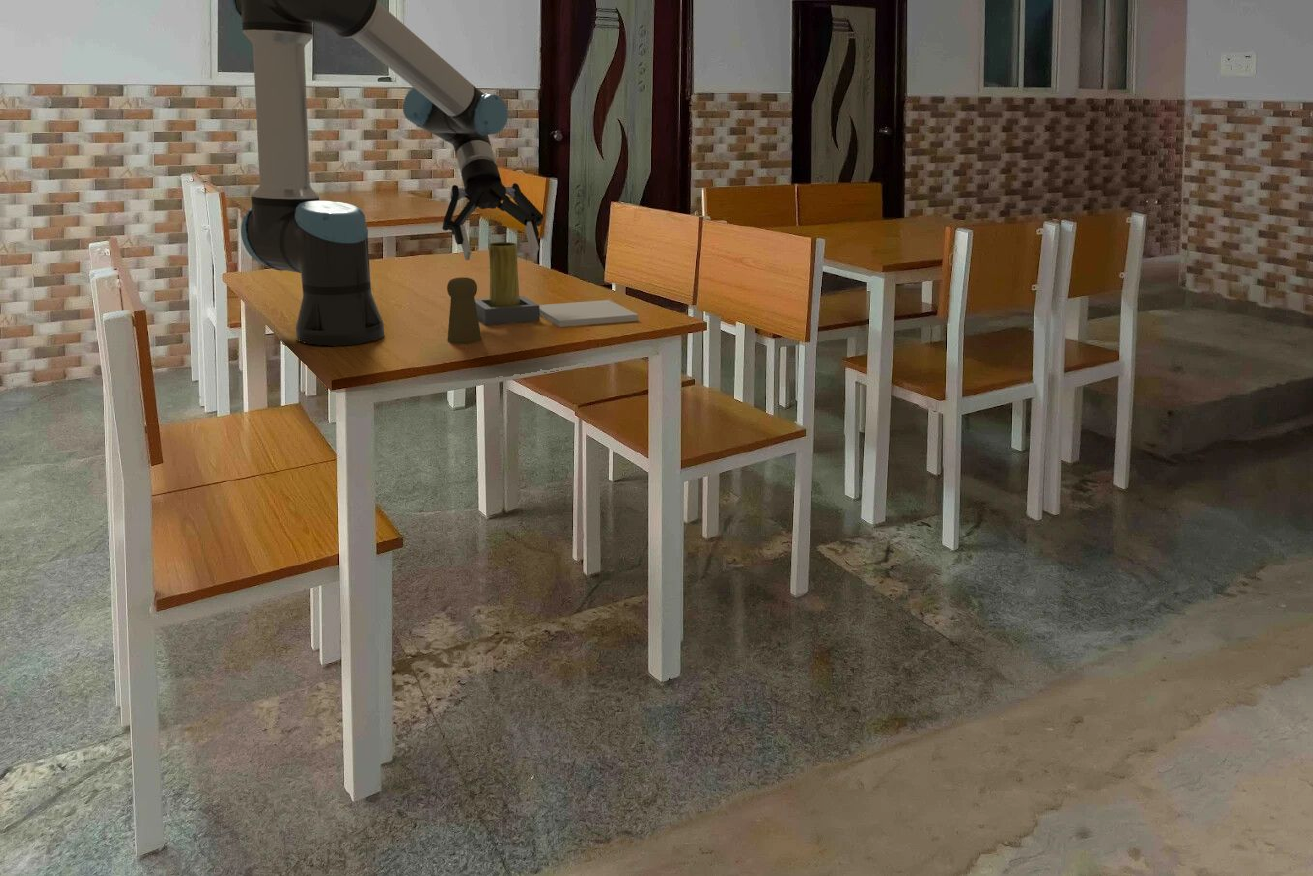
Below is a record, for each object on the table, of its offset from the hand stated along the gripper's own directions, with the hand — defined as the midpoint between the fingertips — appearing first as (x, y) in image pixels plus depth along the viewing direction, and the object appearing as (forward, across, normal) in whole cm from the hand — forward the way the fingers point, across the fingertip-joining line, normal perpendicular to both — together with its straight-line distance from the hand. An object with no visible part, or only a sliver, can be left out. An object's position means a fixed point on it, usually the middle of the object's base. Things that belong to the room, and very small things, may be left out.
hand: (502, 254), depth 217 cm
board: (+15, -14, -1) cm, 20 cm away
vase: (+12, +1, -5) cm, 13 cm away
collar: (+12, +1, -4) cm, 13 cm away
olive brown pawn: (+23, +14, +7) cm, 28 cm away
